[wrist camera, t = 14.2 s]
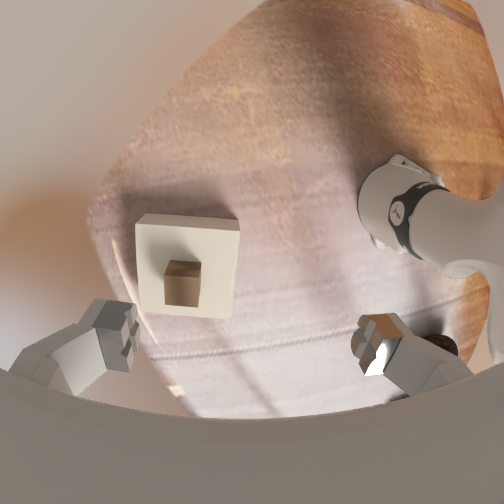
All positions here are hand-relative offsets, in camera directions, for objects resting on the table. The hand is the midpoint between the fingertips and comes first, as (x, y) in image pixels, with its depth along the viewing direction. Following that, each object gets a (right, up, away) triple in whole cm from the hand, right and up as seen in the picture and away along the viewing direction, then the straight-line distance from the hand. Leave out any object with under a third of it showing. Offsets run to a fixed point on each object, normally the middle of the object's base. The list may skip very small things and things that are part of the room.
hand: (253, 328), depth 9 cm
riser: (-11, +1, +39) cm, 40 cm away
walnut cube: (-11, -1, +33) cm, 35 cm away
